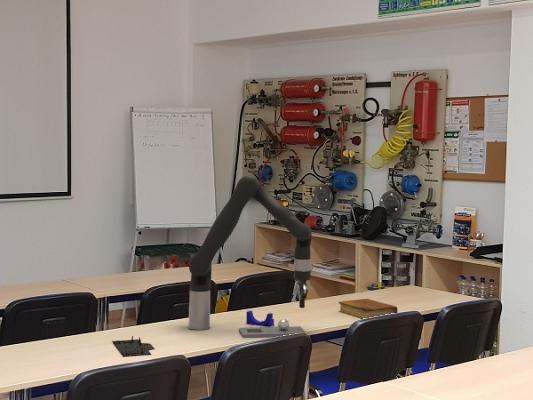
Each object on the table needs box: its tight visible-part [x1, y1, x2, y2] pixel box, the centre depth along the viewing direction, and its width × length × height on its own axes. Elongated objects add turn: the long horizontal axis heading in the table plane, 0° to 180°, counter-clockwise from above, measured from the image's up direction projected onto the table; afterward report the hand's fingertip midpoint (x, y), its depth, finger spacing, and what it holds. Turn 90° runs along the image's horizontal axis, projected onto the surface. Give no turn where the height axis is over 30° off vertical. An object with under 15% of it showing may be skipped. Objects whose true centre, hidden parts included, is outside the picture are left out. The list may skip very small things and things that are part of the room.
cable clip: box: [245, 310, 275, 327], centre depth 384 cm, size 12×4×6 cm, turn 64°
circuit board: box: [111, 335, 155, 358], centre depth 339 cm, size 25×14×3 cm, turn 21°
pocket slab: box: [238, 325, 307, 339], centre depth 367 cm, size 28×13×2 cm, turn 99°
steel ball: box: [277, 318, 290, 330], centre depth 368 cm, size 5×5×5 cm
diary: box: [338, 298, 399, 320], centre depth 411 cm, size 23×19×6 cm
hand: (301, 307), depth 369 cm, fingers closed
